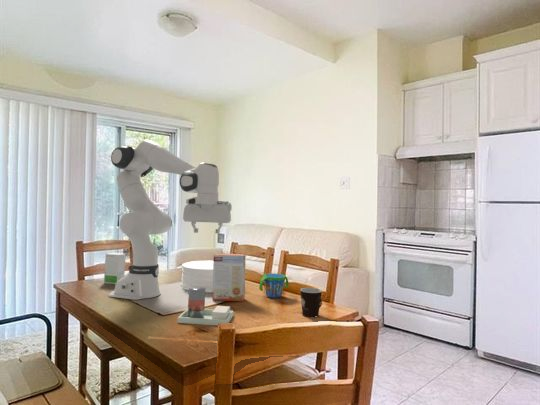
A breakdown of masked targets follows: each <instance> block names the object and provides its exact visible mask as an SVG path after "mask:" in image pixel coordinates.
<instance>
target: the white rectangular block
mask: <svg viewBox="0 0 540 405" xmlns="http://www.w3.org/2000/svg"><path fill="white" fill-rule="evenodd" d="M230 311H231V306H230V305H229V306H228V305H226V306H225V305H217V306H216V307H215V308H214V309H213V311H212V319H221V320H226V319H227V317H228V316H229V314H230Z"/></svg>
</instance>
